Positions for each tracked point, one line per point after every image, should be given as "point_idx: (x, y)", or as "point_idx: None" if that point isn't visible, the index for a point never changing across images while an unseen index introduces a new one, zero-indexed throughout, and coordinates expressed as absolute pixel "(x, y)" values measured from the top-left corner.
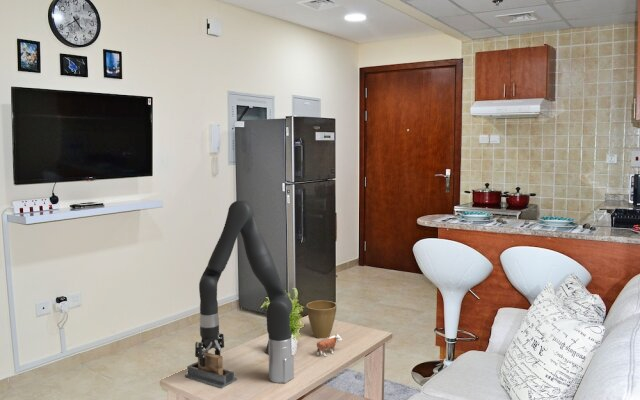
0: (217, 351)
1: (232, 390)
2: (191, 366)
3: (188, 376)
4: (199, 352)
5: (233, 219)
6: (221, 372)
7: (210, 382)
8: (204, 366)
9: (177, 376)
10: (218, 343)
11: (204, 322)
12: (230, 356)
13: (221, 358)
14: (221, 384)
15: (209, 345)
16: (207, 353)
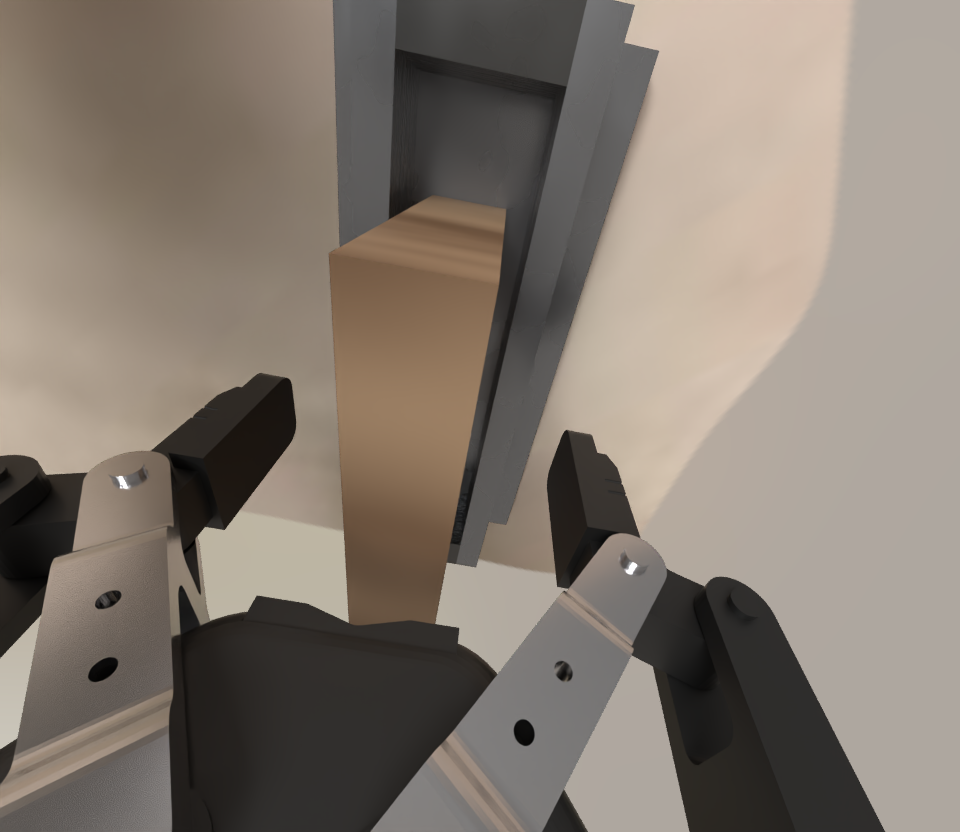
0: (214, 479)
1: None
2: (463, 545)
3: (514, 495)
4: (831, 738)
5: None
6: (446, 208)
7: (587, 269)
8: (582, 433)
9: (511, 546)
10: (37, 647)
11: None
12: (25, 414)
13: (384, 251)
14: (614, 87)
15: (505, 820)
16: (376, 563)
